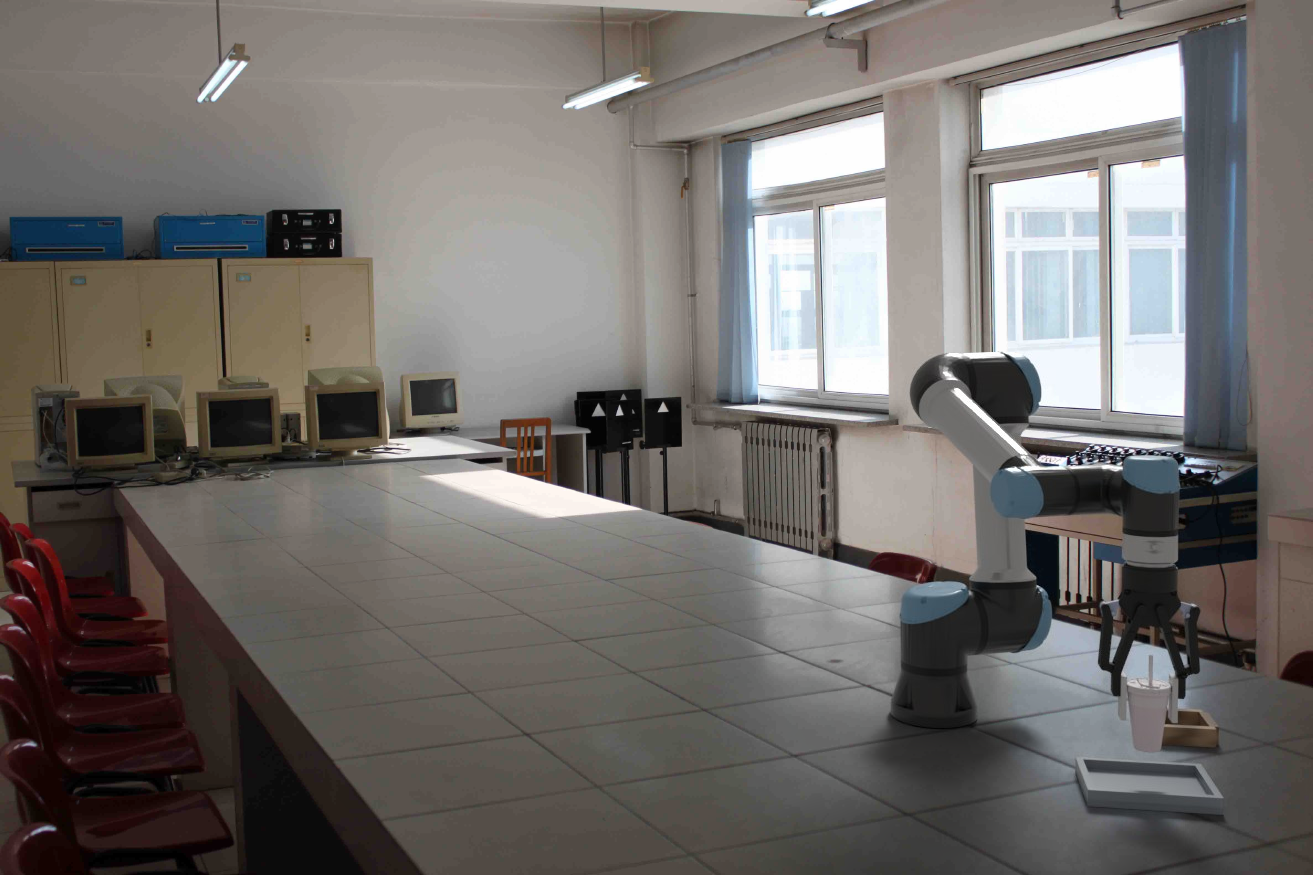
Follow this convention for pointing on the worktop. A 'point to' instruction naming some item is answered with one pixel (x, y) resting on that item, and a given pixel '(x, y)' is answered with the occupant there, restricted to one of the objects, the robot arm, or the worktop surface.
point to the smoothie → (1147, 710)
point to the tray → (1148, 785)
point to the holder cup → (1191, 729)
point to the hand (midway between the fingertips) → (1147, 718)
